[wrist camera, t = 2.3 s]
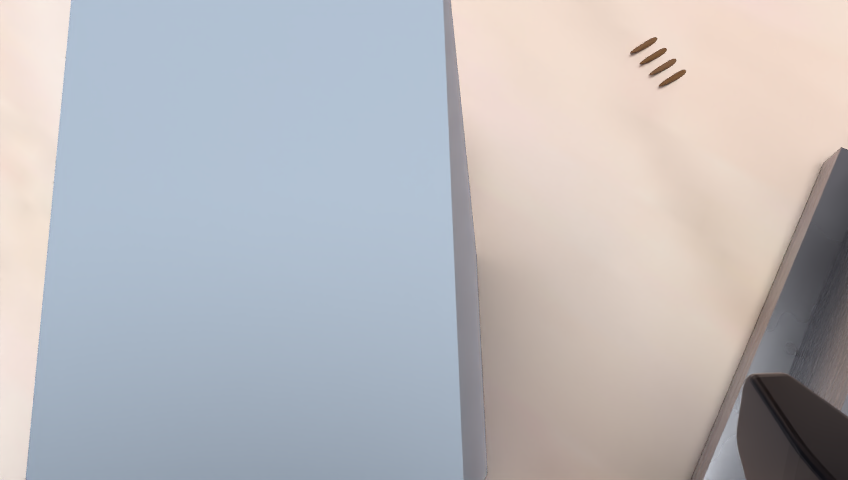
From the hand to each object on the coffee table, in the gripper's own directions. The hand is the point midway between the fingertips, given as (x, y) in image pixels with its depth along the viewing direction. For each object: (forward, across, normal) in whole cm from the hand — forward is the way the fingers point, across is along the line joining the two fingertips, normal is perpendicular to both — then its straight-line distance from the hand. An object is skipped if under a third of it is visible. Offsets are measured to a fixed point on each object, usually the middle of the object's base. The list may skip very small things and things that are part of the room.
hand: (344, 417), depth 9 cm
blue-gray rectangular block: (+8, 0, +5) cm, 9 cm away
